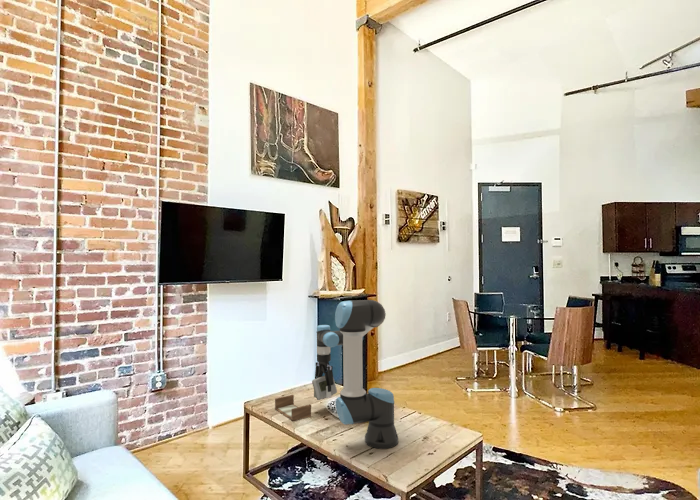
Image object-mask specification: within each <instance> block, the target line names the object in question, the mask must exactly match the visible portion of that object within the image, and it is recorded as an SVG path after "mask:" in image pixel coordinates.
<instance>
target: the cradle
mask: <svg viewBox="0 0 700 500" xmlns="http://www.w3.org/2000/svg"><path fill="white" fill-rule="evenodd" d="M294 397H295V396H294V394H290V395H285V396H281V397H276V398H275V399H274V410H275V411H276V410H277V411H276V412H278V413H279V412H280V413H279V414H281V415H282V414H283V416H284V417H286V418H287V419H288V420H290V421H291V422H295V421H299V420H303V419H307V418H310V417H312V404H309V403H308V404H306V405H305V404H304V405H302V406H297V405H295V404H294V403H295V400H294V399H295V398H294Z"/></svg>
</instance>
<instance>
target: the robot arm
mask: <svg viewBox="0 0 700 500" xmlns="http://www.w3.org/2000/svg"><path fill="white" fill-rule="evenodd" d="M334 314H335V315H334V321H335V326H336V327H337V328H338V329H339V330H331V326H330V325H328V324H319V325H317V326H316V362H315V371H314V379H317V378H319V377H322V376H325V378H326V383H327V385H326V398H325V399H329V398H332V396H331V385H334V382H335V380H334V381H333V378H334V374H333V365H330V362H331V361H332V360H331V359H332V356H331V348H335V347H337V346H342V349H343V350H342V355H343V357H342V358H343V360H342V361H343V366H342V367H343V372H342V373H343V376H342V377H343V379H342V381H343V388H342V389H341V391H340V393H339V394H340V395H339V396H338V397H336V399H335V410H336V414H337V417H338V419H339V421H340V422H341V424H343V425H355V424H360V423H366V422H368V426H367V428H366V432H365V435H364V442H365V444H366V445H367V446H369V447H371V448H374V449H379V450H380V449H381V450H383V449H391V448H394V447H395V446H397V445H398V443H399V435H398V433H397V430H396V426H395V398H394V393H393V392H392V391H391V390H388V389H386V388H382V387H381V388H380V387H371V388H369V389H368V391H366V390H365V388H363V387H364V386H363V383H364V382H363V378H364V377H363V375H364V374H363V373H364V371H363V340H364V336H365V335H366V334H367V333H369V332H370V331H371V330H373V329H374V328H378V327H379V326H381V325H382V324H383V323H384V321H385V320H386V315H387V314H386V310H385V308H384V305H382V303H380V302H379V301H377V300H374V299H364V300H363V299H362V300H361V299H359V300H357V299H356V300H344V301H340V302H339V303H338V304H337V307H336V309H335V312H334ZM323 374H324V375H323Z"/></svg>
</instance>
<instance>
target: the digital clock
mask: <svg viewBox="0 0 700 500" xmlns="http://www.w3.org/2000/svg"><path fill="white" fill-rule="evenodd" d="M333 381H334V385H331V397H333V396H334V395H335V394H337V393H338V390H337V386H336V382H335V378H334V377H333ZM311 382H312V387H313V398H315V399H316V400H317V401H320V400H325V399H327V398H326V385H327V383H326V378H325V375H322V377H319V378H317V379H315V378H313V379H312V380H311Z"/></svg>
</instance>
